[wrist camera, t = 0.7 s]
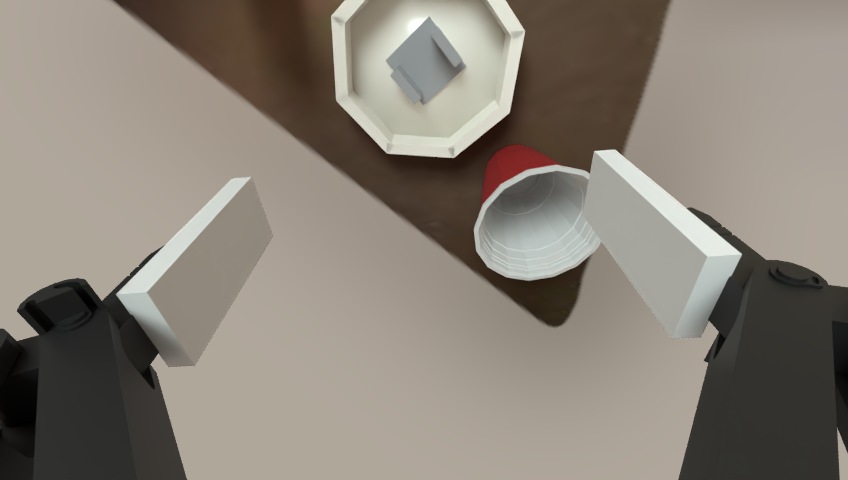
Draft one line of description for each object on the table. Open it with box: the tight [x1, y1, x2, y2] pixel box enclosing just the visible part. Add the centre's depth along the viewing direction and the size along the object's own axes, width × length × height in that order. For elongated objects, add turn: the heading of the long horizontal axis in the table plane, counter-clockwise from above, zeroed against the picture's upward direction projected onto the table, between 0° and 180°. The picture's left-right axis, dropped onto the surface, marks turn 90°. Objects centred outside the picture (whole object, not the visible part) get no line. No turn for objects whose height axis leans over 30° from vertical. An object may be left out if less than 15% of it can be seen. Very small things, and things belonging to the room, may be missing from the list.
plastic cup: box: [474, 144, 602, 281], centre depth 34 cm, size 11×11×12 cm
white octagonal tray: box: [331, 0, 525, 158], centre depth 32 cm, size 15×15×4 cm
